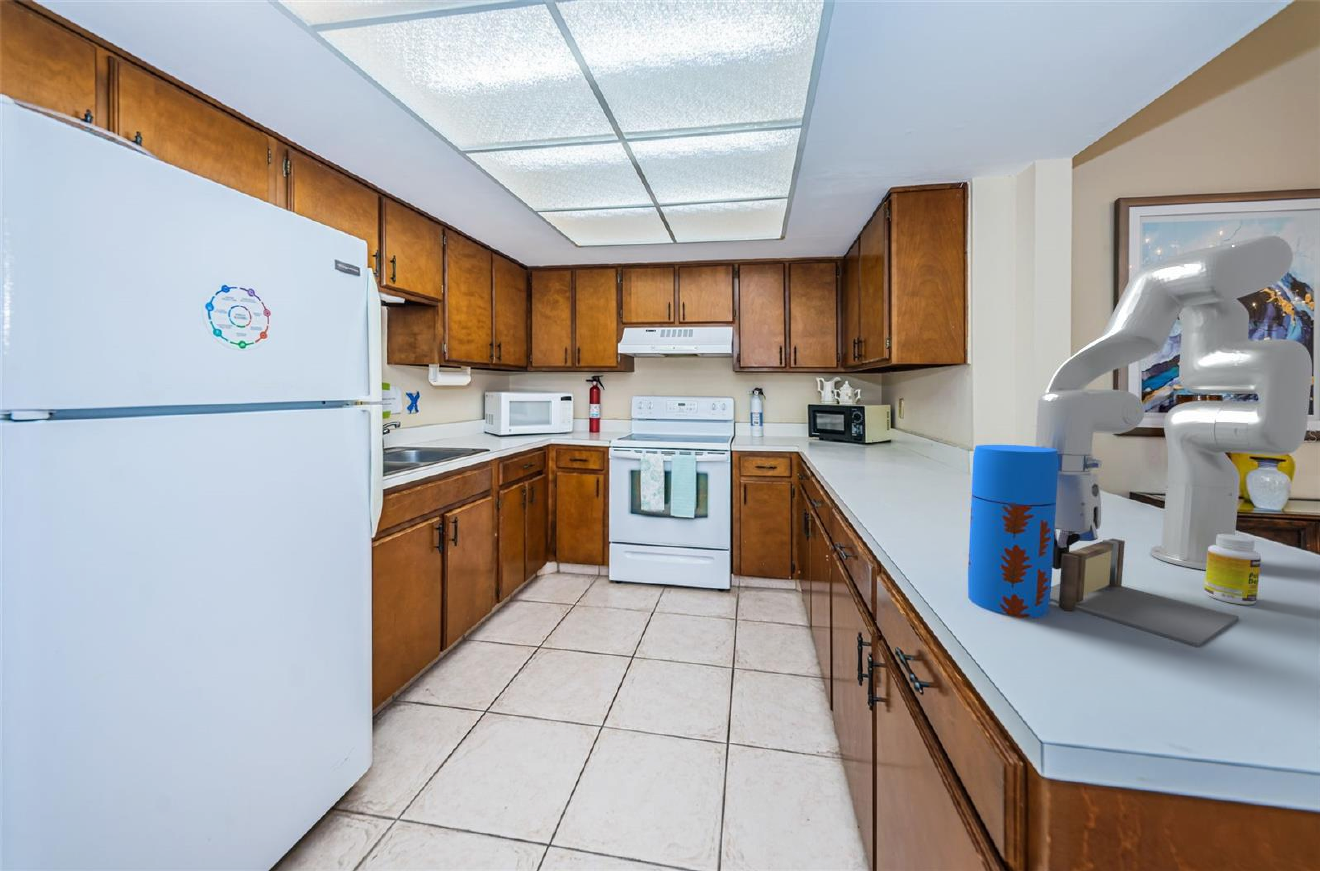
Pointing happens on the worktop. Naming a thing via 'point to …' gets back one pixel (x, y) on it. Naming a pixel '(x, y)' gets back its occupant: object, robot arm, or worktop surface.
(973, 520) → the thermos
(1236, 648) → the worktop surface
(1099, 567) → the gate
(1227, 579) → the supplement bottle
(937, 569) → the worktop surface
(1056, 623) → the worktop surface
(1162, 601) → the gate frame
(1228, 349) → the robot arm
